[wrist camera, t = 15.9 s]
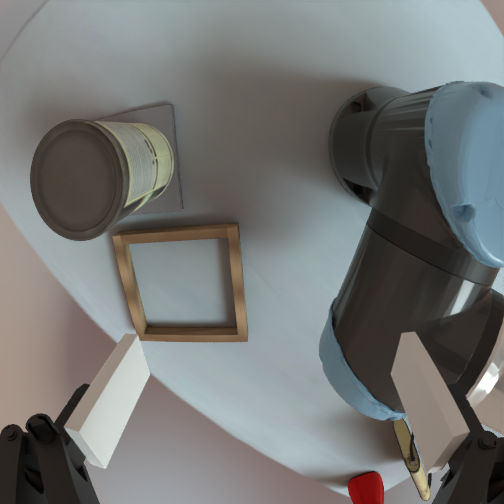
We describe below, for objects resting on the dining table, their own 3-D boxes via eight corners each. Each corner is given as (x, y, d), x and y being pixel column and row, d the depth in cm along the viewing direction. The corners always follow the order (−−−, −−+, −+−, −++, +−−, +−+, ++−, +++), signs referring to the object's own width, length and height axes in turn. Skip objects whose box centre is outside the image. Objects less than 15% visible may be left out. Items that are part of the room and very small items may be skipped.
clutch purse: (432, 450, 57) (447, 492, 43) (409, 461, 59) (422, 504, 45) (418, 398, 49) (443, 455, 35) (387, 414, 50) (407, 472, 36)
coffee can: (152, 219, 37) (98, 263, 24) (89, 180, 35) (19, 206, 22) (191, 146, 34) (147, 152, 20) (122, 109, 32) (53, 101, 19)
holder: (118, 231, 39) (112, 236, 37) (238, 222, 38) (237, 227, 36) (143, 332, 44) (138, 340, 43) (248, 333, 43) (247, 341, 42)
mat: (83, 124, 33) (79, 124, 32) (173, 104, 33) (170, 104, 32) (95, 217, 38) (92, 219, 37) (183, 208, 37) (181, 210, 36)
